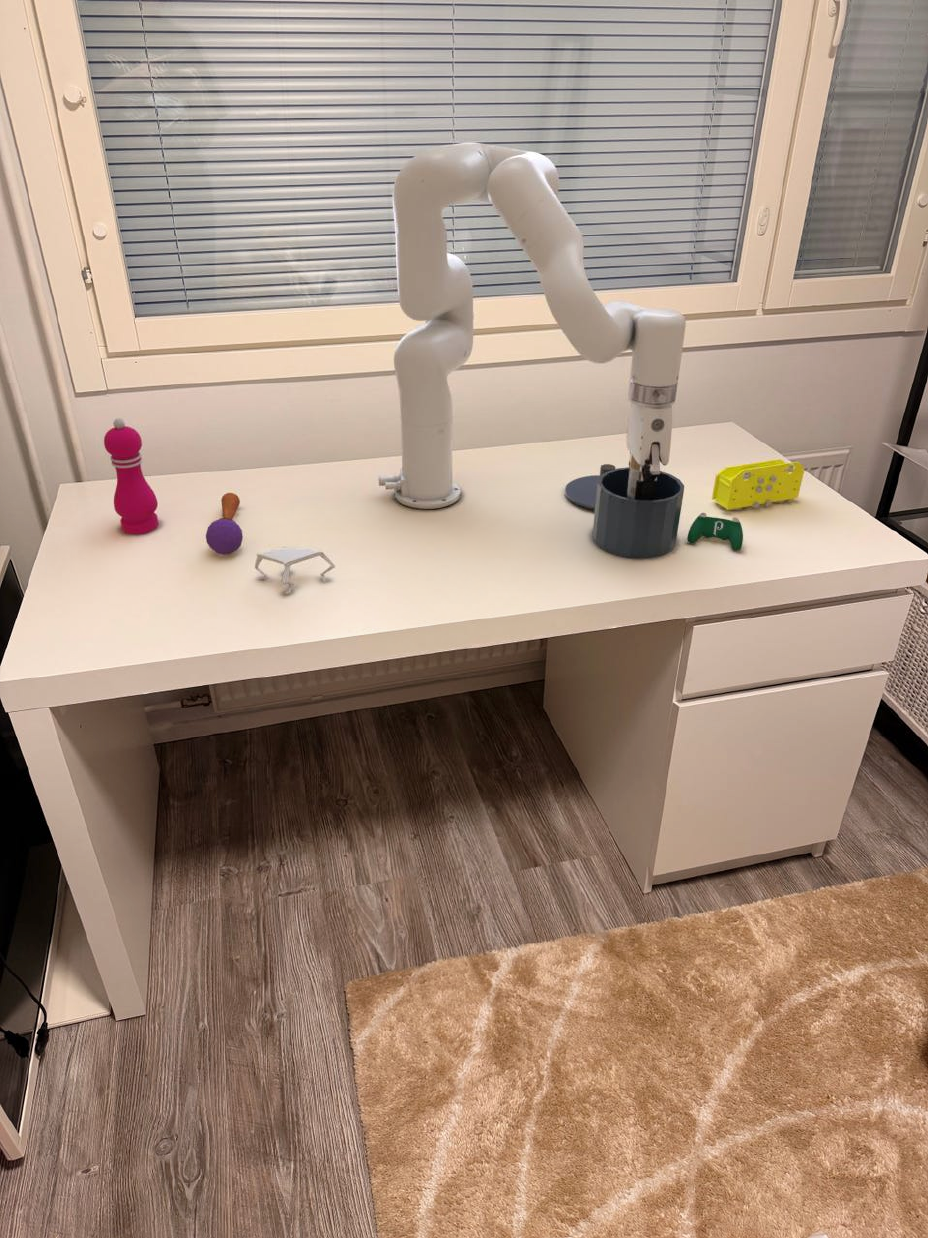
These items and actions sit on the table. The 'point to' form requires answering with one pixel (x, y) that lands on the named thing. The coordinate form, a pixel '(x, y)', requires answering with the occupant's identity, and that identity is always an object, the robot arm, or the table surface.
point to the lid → (586, 488)
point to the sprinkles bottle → (634, 477)
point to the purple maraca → (225, 528)
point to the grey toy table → (290, 561)
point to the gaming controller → (717, 530)
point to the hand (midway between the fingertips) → (639, 495)
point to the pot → (637, 516)
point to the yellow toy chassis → (757, 484)
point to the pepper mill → (130, 480)
